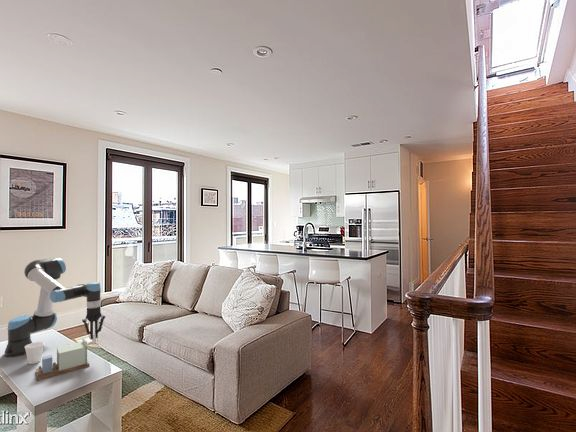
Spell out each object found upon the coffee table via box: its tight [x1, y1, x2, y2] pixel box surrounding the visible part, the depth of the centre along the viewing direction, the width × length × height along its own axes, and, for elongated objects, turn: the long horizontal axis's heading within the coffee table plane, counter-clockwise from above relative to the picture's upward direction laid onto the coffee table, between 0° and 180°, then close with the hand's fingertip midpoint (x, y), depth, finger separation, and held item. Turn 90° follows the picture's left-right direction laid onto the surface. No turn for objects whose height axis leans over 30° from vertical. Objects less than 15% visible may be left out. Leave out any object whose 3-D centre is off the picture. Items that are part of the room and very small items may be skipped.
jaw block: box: [41, 354, 53, 373], centre depth 182 cm, size 4×4×8 cm
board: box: [35, 359, 90, 382], centre depth 187 cm, size 14×25×4 cm, turn 132°
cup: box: [24, 341, 45, 365], centre depth 196 cm, size 10×10×11 cm
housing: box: [56, 336, 88, 371], centre depth 190 cm, size 11×14×13 cm
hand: (94, 343), depth 197 cm, fingers closed
